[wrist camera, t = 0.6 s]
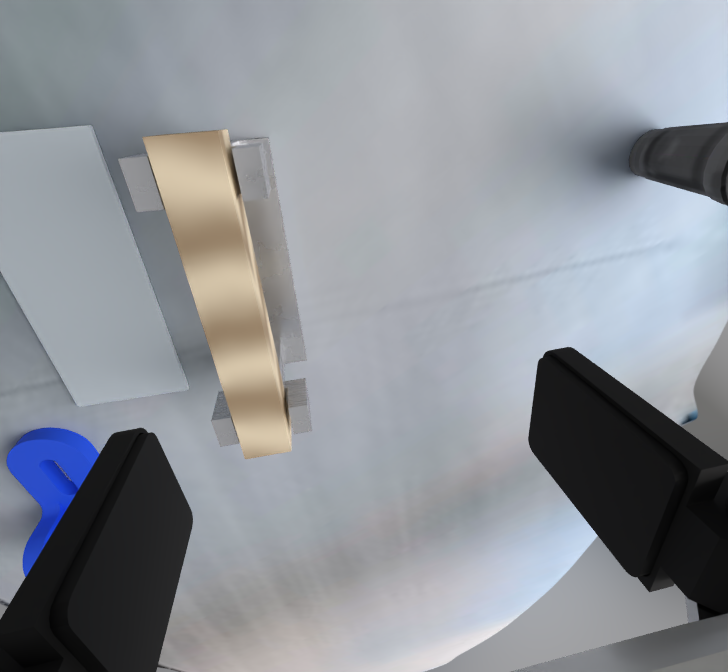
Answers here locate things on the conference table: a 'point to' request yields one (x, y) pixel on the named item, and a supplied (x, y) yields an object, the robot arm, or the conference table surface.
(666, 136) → the beverage cup
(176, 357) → the mat
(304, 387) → the rail stand
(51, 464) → the bracket
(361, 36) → the conference table surface
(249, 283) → the rail
